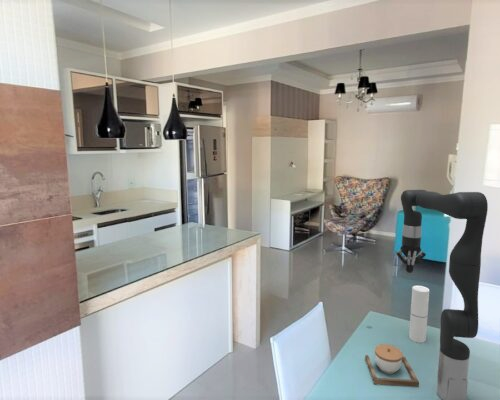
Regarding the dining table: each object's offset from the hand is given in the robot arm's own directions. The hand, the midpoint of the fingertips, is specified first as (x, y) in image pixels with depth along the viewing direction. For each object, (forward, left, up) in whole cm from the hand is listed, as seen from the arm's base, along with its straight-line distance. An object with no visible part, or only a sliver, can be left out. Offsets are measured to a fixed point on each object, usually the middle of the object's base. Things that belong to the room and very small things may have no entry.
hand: (409, 272), depth 154 cm
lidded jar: (-19, +13, -35) cm, 42 cm away
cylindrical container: (+5, -7, -35) cm, 36 cm away
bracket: (-21, +13, -35) cm, 43 cm away
